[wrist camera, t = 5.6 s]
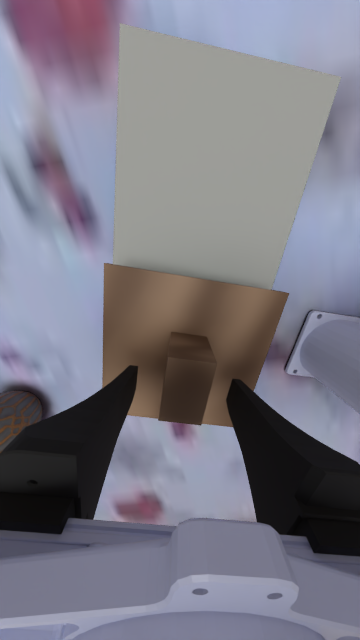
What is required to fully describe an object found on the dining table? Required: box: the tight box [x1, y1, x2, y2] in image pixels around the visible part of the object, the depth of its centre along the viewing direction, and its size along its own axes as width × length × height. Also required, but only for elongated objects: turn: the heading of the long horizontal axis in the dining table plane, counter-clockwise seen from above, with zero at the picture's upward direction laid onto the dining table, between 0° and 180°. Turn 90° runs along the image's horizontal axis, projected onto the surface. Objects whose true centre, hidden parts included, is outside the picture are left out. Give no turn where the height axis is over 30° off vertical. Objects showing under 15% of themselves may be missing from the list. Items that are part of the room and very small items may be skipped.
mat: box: [113, 23, 341, 290], centre depth 14 cm, size 16×16×1 cm
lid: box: [102, 263, 289, 427], centre depth 13 cm, size 14×14×5 cm
